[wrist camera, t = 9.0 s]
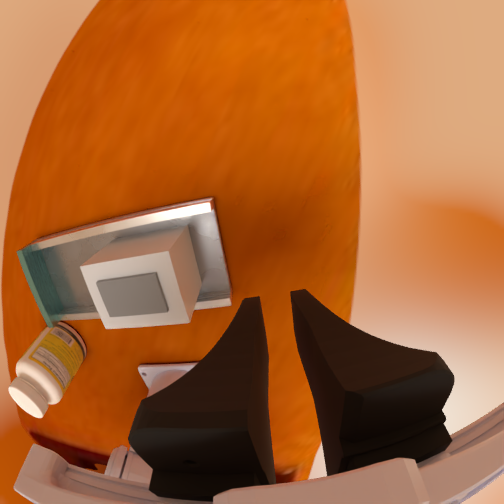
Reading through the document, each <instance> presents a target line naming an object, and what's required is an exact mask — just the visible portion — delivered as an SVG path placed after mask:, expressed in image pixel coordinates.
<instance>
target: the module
mask: <svg viewBox="0 0 504 504" xmlns="http://www.w3.org/2000/svg"><path fill="white" fill-rule="evenodd" d="M80 268H81V271H82V274H83V277H84V279H85V282H86V284H87V287H88V289H89V292H90V294H91V297H92V299H93V302H94V304H95V306H96V309H97V311H98V313H99V315H100V318H101V320H102V322H103V324H104V326H105V328H106V329H116V328H134V327H148V326H161V325H173V324H183V323H190V321H191V318H192V314H193V311H194V308H195V305H196V301H197V298H198V295H199V291H200V288H201V285H202V282H201V278H200V274H199V270H198V266H197V262H196V258H195V254H194V250H193V246H192V242H191V237H190V233H189V229H188V225H185V226H179V227H174V228H168V229H163V230H158V231H153V232H148V233H143V234H138V235H133V236H128V237H123V238H118V239H114V240H112V241H111V242H110V243H108V244H107V245H106V246H104V247H103V248H102V249H101V250H99V251H98V252H97V253H96V254H94V255H93V256H92V257H91V258H89V259H88V260H87V261H86V262H85V263H83V264H82V265H81V266H80Z"/></svg>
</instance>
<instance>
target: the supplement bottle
mask: <svg viewBox="0 0 504 504" xmlns="http://www.w3.org/2000/svg"><path fill="white" fill-rule="evenodd" d="M85 356H86V347H85V344H84V342H83V340H82V338H81V337H80V336H79V334H78V333H77V332H76V331H75V330H74V329H73V328H72V327H70V326H69V325H67V324H65V323H63V322H59V323H58V324H57V325H56V326H55V327H54V328H49V327H48V325H47V326H46V328H45V329H44V330H43V331H42V332H41V333H40V335H39V336H38V337H37V338H36V339H35V341H34V342H33V343H32V344H31V346H30V347H29V348H28V349H27V350H26V352H25V353H24V354H23V356H22V357H21V358H20V359H19V361H18V362H17V365H16V373H17V376H18V377H16V378H15V379H14V380H13V382H12V383H11V385H10V386H9V393H10V395H11V397H12V398H13V399H14V401H15V402H16V403H17V404H18V405H19V406H20V407H21V408H22V409H23V410H25V411H26V412H27V413H29V414H31V415H32V416H34V417H37V418H42V417H43V416H44V414H45V412H46V411H47V408H48V404H56V403H58V402H59V401H60V400H61V398H62V397H63V395H64V393H65V391H66V389H67V388H68V386H69V384H70V382H71V381H72V379H73V377H74V376H75V374H76V372H77V370H78V369H79V367H80V365H81V364H82V362H83V360H84V358H85Z"/></svg>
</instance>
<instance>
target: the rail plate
mask: <svg viewBox="0 0 504 504" xmlns="http://www.w3.org/2000/svg"><path fill="white" fill-rule="evenodd" d="M185 225H188V229H189V233H190V237H191V242H192V246H193V250H194V254H195V258H196V262H197V266H198V270H199V274H200V278H201V282H202V285H201V288H200V291H199V295H198V298H197V301H196V305H195V308H194V310H198V309H207V308H215V307H223V306H231V304H232V295H233V291H232V287H231V282H230V277H229V273H228V268H227V263H226V258H225V253H224V249H223V244H222V239H221V234H220V229H219V224H218V219H217V214H216V208H215V203H214V198H213V196H212V197H206V198H201V199H196V200H191V201H185V202H180V203H176V204H171V205H166V206H161V207H157V208H152V209H147V210H143V211H139V212H134V213H130V214H126V215H122V216H117V217H113V218H109V219H105V220H101V221H98V222H94V223H90V224H86V225H82V226H79V227H75V228H71V229H68V230H64V231H61V232H57V233H54V234H51V235H47V236H44V237H41V238H38V239H36V240H34V241H33V242H32V243H30V244H28V245H27V246H25V247H23V248H22V249H20V250H18V251H17V254H18V257H19V260H20V263H21V266H22V268H23V271H24V274H25V276H26V279H27V281H28V284H29V286H30V289H31V291H32V294H33V296H34V298H35V300H36V303H37V305H38V307H39V309H40V311H41V313H42V315H43V317H44V319H45V321H46V323H47V325H48V327H49V328H54V327H55V326H56V325H57V324H58V323H59V321H60V320H81V319H99V318H100V315H99V313H98V311H97V309H96V306H95V304H94V302H93V299H92V297H91V294H90V292H89V289H88V287H87V284H86V282H85V279H84V277H83V274H82V271H81V268H80V266H81V265H82V264H83V263H85V262H86V261H87V260H88V259H89V258H91V257H92V256H93V255H94V254H96V253H97V252H98V251H99V250H101V249H102V248H103V247H104V246H106V245H107V244H108V243H110V242H111V241H112V240H114V239H118V238H123V237H128V236H133V235H138V234H143V233H148V232H153V231H158V230H163V229H168V228H174V227H179V226H185Z"/></svg>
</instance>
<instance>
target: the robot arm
mask: <svg viewBox="0 0 504 504" xmlns="http://www.w3.org/2000/svg"><path fill="white" fill-rule="evenodd" d="M290 294H291V303H292V313H293V323H294V332H295V337H296V343H297V348H298V352H299V355H300V358H301V361H302V364H303V367H304V370H305V373H306V376H307V379H308V382H309V385H310V388H311V391H312V395H313V399H314V403H315V408H316V413H317V418H318V423H319V429H320V434H321V440H322V446H323V451H324V457H325V464H326V471H327V476H326V477H321V478H316V479H310V480H304V481H298V482H291V483H283V484H276V478H275V469H274V460H273V451H272V441H271V431H270V420H269V410H268V364H269V356H268V347H267V338H266V332H265V326H264V320H263V314H262V308H261V302H260V296H258V297H251V298H245V299H244V300H243V301H242V303H241V305H240V307H239V309H238V311H237V313H236V315H235V317H234V319H233V320H232V322H231V323H230V325H229V327H228V328H227V330H226V331H225V333H224V334H223V335H222V337H221V338H220V340H219V341H218V342H217V344H216V345H215V346H214V347H213V348H212V350H211V351H210V352H209V353H208V354H207V355H206V356H205V357H204V358H203V359H202V360H201V361H200V362H199V363H183V364H158V365H139V367H138V371H139V373H140V375H141V376H142V378H143V380H144V382H145V384H146V385H147V387H148V389H149V392H148V395H147V398H145V399H143V400H142V401H141V403H140V405H139V408H138V410H137V412H136V415H135V418H134V421H133V424H132V427H131V430H130V434H129V437H128V440H129V444H130V445H131V446H130V449H129V451H127V447H125V446H123V445H121V446H120V447H117V448H114V449H113V451H112V453H111V456H110V459H109V462H108V465H107V468H106V471H105V474H100V473H96V472H92V471H89V470H86V469H83V468H80V467H76V466H73V465H70V464H68V463H67V462H66V461H65V460H64V459H63V458H62V457H61V456H60V455H58V454H57V453H55V452H54V451H52V450H49V449H47V448H44V447H42V446H39V445H37V444H33V445H32V448H31V450H30V452H29V454H28V456H27V458H26V460H25V462H24V464H23V467H22V469H21V471H20V473H19V476H18V478H17V480H16V483H15V485H14V490H15V491H17V492H18V493H19V494H21V495H22V496H24V497H25V498H27V499H28V500H30V501H31V502H33V503H35V504H460V503H462V502H463V501H465V500H466V499H468V498H470V497H471V496H473V495H474V494H476V493H477V492H479V491H480V490H482V489H483V488H485V487H486V486H487V485H489V484H490V483H491V482H493V481H494V480H495V479H497V478H498V477H499V476H500V475H502V474H503V473H504V403H502V404H501V405H499V406H498V407H497V408H495V409H494V410H492V411H491V412H489V413H488V414H486V415H484V416H483V417H481V418H480V419H478V420H477V421H475V422H473V423H471V424H470V425H468V426H466V427H465V428H463V429H461V430H459V431H457V432H455V433H454V434H452V435H449V433H448V431H447V429H446V427H445V425H444V422H445V421H446V417H445V415H444V413H443V412H442V409H443V407H444V405H445V403H446V401H447V399H448V397H449V395H450V393H451V391H452V388H453V385H454V375H453V373H452V372H451V370H450V369H449V368H448V366H447V365H446V363H445V362H444V360H443V359H442V358H441V357H440V356H439V355H438V354H437V353H436V352H430V351H424V350H418V349H413V348H408V347H404V346H401V345H397V344H393V343H391V342H388V341H385V340H382V339H380V338H377V337H375V336H372V335H370V334H368V333H365V332H363V331H362V330H359V329H358V328H356V327H354V326H352V325H350V324H349V323H347V322H345V321H344V320H342V319H341V318H339V317H338V316H337V315H335V314H334V313H333V312H331V311H330V310H329V309H328V308H326V307H325V306H324V305H323V304H321V303H320V302H319V301H318V300H317V299H316V298H315V297H314V296H312V295H311V294H310V293H309V292H308V291H307V290H306V289H303V290H297V291H291V292H290Z"/></svg>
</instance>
